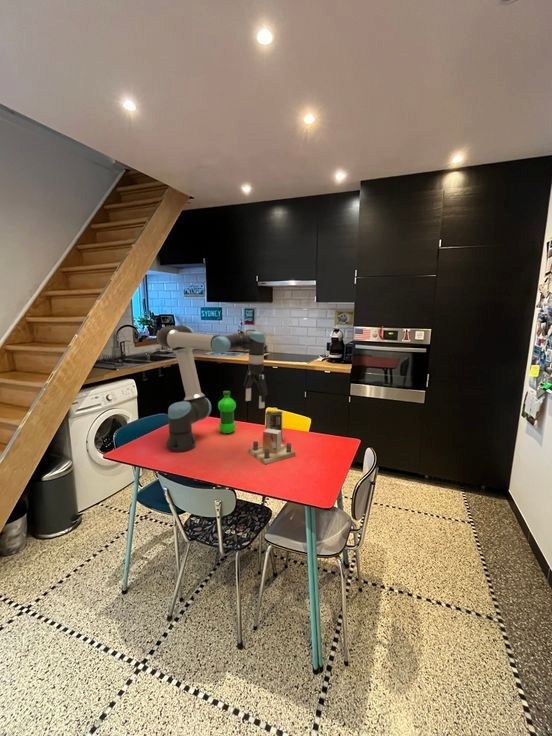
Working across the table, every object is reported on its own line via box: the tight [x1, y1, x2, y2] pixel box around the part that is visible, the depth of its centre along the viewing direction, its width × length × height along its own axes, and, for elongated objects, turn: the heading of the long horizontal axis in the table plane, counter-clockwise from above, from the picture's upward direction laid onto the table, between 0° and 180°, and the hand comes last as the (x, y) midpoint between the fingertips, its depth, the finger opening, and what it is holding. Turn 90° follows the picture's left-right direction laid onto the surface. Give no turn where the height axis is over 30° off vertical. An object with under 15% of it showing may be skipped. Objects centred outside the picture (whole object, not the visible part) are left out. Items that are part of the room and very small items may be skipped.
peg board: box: [248, 440, 297, 465], centre depth 171 cm, size 16×18×6 cm
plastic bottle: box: [217, 390, 237, 434], centre depth 199 cm, size 10×10×25 cm
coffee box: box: [265, 410, 283, 443], centre depth 188 cm, size 9×6×16 cm
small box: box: [262, 428, 282, 454], centre depth 170 cm, size 8×6×10 cm
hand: (254, 404), depth 170 cm, fingers open, 13 cm apart
